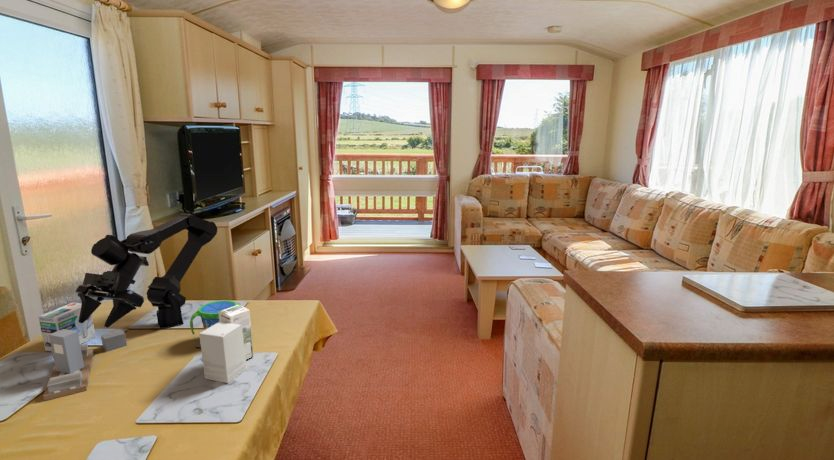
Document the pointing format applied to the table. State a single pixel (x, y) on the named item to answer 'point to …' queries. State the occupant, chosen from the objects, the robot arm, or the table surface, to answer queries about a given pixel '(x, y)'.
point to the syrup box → (242, 318)
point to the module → (66, 351)
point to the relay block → (113, 340)
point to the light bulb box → (66, 323)
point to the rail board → (84, 375)
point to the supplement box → (223, 351)
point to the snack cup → (211, 313)
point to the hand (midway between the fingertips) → (93, 324)
